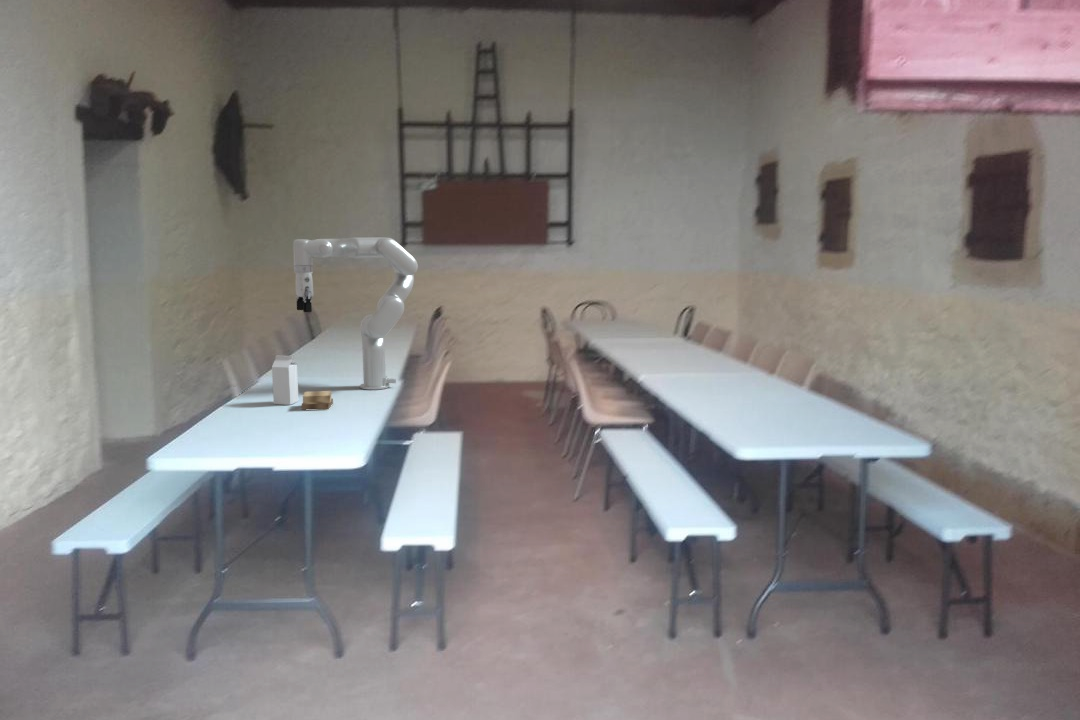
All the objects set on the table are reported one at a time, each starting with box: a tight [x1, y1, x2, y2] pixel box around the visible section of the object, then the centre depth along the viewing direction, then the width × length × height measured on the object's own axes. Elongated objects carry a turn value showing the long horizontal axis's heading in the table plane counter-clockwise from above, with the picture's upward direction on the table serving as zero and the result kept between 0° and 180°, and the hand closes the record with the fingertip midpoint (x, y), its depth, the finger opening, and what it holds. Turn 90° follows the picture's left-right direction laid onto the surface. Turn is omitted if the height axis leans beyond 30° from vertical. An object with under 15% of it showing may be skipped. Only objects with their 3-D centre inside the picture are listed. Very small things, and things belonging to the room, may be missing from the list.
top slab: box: [302, 390, 332, 404], centre depth 341 cm, size 10×10×3 cm
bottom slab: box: [301, 398, 334, 411], centre depth 342 cm, size 10×10×3 cm
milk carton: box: [271, 355, 300, 406], centre depth 349 cm, size 7×7×19 cm
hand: (304, 311), depth 366 cm, fingers open, 9 cm apart
